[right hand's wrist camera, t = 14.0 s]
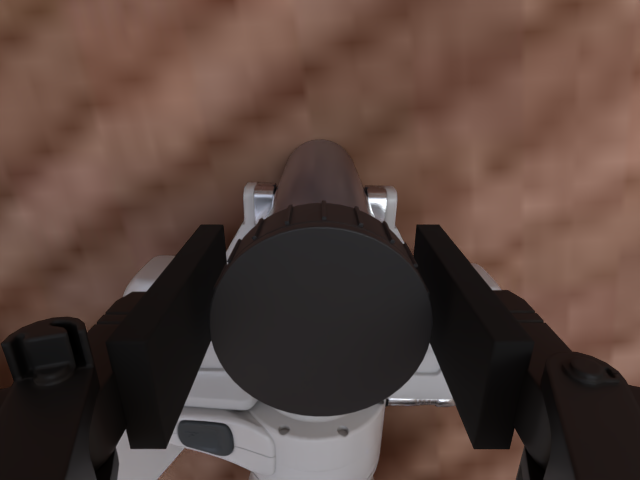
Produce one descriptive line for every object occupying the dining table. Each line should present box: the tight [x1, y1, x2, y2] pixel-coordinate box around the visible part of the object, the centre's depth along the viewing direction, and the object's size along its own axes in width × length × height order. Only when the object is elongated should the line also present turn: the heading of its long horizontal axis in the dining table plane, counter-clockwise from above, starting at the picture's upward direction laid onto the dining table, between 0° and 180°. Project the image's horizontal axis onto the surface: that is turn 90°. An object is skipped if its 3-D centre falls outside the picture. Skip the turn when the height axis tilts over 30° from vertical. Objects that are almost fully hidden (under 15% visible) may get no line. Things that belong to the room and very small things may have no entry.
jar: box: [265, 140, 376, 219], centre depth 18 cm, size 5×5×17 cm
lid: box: [209, 200, 433, 417], centre depth 11 cm, size 6×6×2 cm
